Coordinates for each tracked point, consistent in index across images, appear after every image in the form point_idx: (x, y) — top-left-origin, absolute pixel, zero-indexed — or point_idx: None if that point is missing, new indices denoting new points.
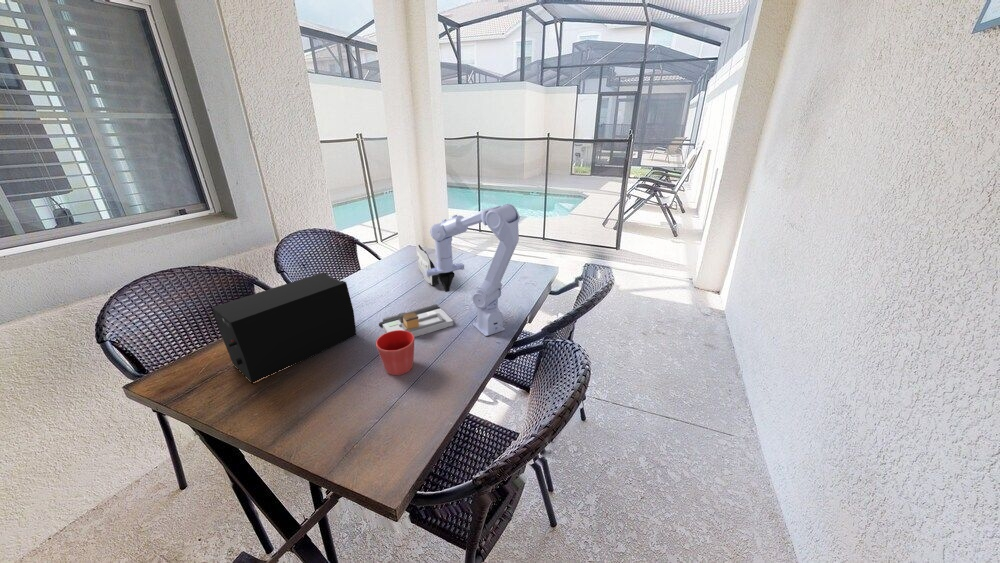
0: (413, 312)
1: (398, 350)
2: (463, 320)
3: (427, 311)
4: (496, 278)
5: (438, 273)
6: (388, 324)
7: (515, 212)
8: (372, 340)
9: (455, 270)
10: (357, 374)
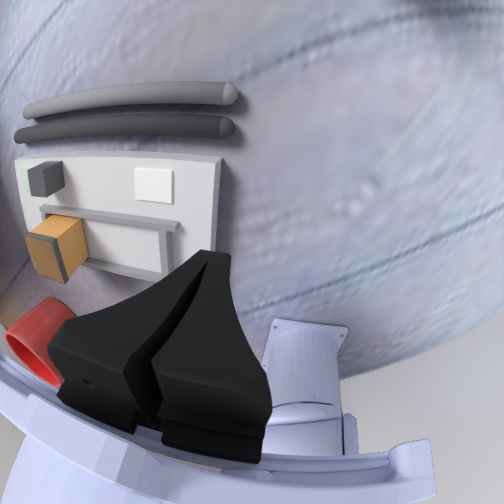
0: (50, 245)
1: (44, 379)
2: (267, 276)
3: (156, 133)
4: None
5: (70, 410)
6: (22, 176)
7: None
8: (12, 197)
9: (300, 462)
10: (15, 283)
